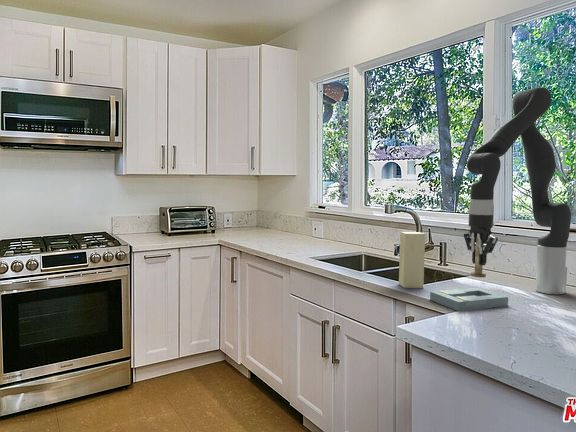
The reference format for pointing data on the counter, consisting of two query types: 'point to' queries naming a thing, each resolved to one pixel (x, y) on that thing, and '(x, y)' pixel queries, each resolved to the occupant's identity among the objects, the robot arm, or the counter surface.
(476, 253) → the boss peg
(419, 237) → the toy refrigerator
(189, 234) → the counter surface
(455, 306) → the keyhole board
